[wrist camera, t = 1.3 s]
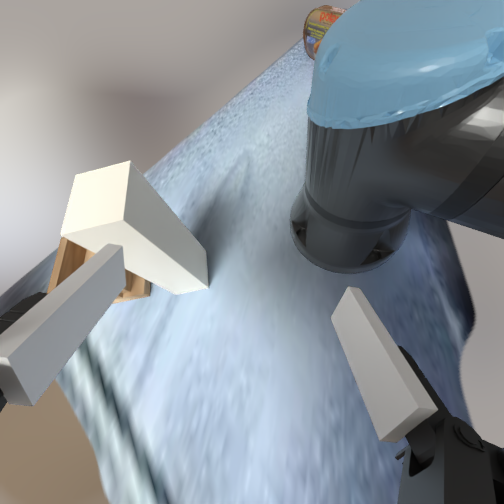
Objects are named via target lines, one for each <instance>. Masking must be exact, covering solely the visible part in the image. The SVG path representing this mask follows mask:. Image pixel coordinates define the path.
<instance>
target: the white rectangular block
mask: <svg viewBox="0 0 504 504" xmlns="http://www.w3.org/2000/svg"><path fill="white" fill-rule="evenodd" d="M60 235H61V236H63V237H65V238H67V239H69V240H71V241H72V242H74V243H76V244H78V245H80V246H82V247H84V248H86V249H88V250H90V251H92V252H94V253H97V252H98V251H99V250H101V249H102V248H103V247H104V246H105V245H106V244H108V243H110V244H115V245H121V246H123V254H124V266H125V269H127V270H129V271H131V272H133V273H134V274H136V275H138V276H140V277H142V278H144V279H146V280H148V281H150V282H152V283H154V284H156V285H158V286H160V287H162V288H164V289H165V290H167V291H169V292H171V293H173V294H175V295H178V294H183V293H188V292H193V291H197V290H202V289H207V288H209V282H208V268H207V254H206V250H205V249H204V248H203V247H202V245H201V244H200V243H199V242H198V241H197V240H196V238H195V237H194V236H193V235H192V234H191V232H190V231H189V230H188V229H187V228H186V226H185V225H184V224H183V223H182V222H181V220H180V219H179V218H178V217H177V216H176V214H175V213H174V212H173V211H172V210H171V209H170V207H169V206H168V205H167V204H166V203H165V201H164V200H163V199H162V198H161V197H160V195H159V194H158V193H157V192H156V191H155V189H154V188H153V187H152V186H151V185H150V183H149V182H148V181H147V180H146V179H145V178H144V176H143V175H142V174H141V173H140V172H139V170H138V169H137V168H136V167H135V166H134V164H133V163H132V162H131V161H127V162H123V163H119V164H116V165H112V166H108V167H104V168H100V169H97V170H93V171H89V172H85V173H82V174H78V175H76V176H75V180H74V184H73V188H72V191H71V195H70V199H69V203H68V207H67V210H66V214H65V218H64V222H63V226H62V229H61V233H60Z"/></svg>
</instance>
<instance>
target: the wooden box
mask: <svg viewBox="0 0 504 504" xmlns="http://www.w3.org/2000/svg"><path fill="white" fill-rule="evenodd" d="M95 254H96V253H94V252H92V251H90V250H88V249H86V248H84V247H82V246H80V245H78V244H76V243H74V242H72V241H71V240H69V239H67V238H65V237H62V238H61V240H60V244H59V248H58V252H57V256H56V260H55V263H54V267H53V271H52V275H51V279H50V283H49V287H48V290H47V293H48V294H49V293H50V292H51V291H52V290H54V289H55V288H56V287H57V286H58V285H59V284H61V283H62V282H63V281H64V280H65V279H66V278H68V277H69V276H70V275H71V274H72V273H74V272H75V271H76V270H77V269H78V268H79V267H81V266H82V265H83V264H84V263H85V262H86V261H88V260H89V259H90V258H91V257H92V256H94V255H95ZM125 278H126V286H125V287H124V288H123V290H122V291H121V292H120V294H119V295H118V296H117V298H116V299H115V300H114V302H113V303H112V304H114V303H119V302H124V301H129V300H134V299H138V298H143V297H148V296H150V283H151V282H150V281H148V280H146V279H144V278H142V277H140V276H138V275H136V274H134V273H133V272H131V271H129V270H127V269H125Z"/></svg>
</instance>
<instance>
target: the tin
mask: <svg viewBox="0 0 504 504" xmlns="http://www.w3.org/2000/svg"><path fill="white" fill-rule="evenodd" d="M345 11H347V10H345V9H341V8H336V7H332V6H328V5H324V6H321V7H319V8H315V9H313V10H312V11H311V12H310V13H309V14H308V16H307V19H306V21H305V24H304V31H303V39H304V45H305V48H306V51H307V53H308V55H309V56H310V57H311V58H312V59H313V60H315V57H316V53H317V50H318V47H319V45H320V43H321V41H322V39H323V37H324V35H325V34H326V32H327V31H328V30H329V28H330V27H331V26H332V24H333V23H334V22H335V21H336V20H337V19H338V18H339V17H340V16H341V15H342V14H343V13H344V12H345Z"/></svg>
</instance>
